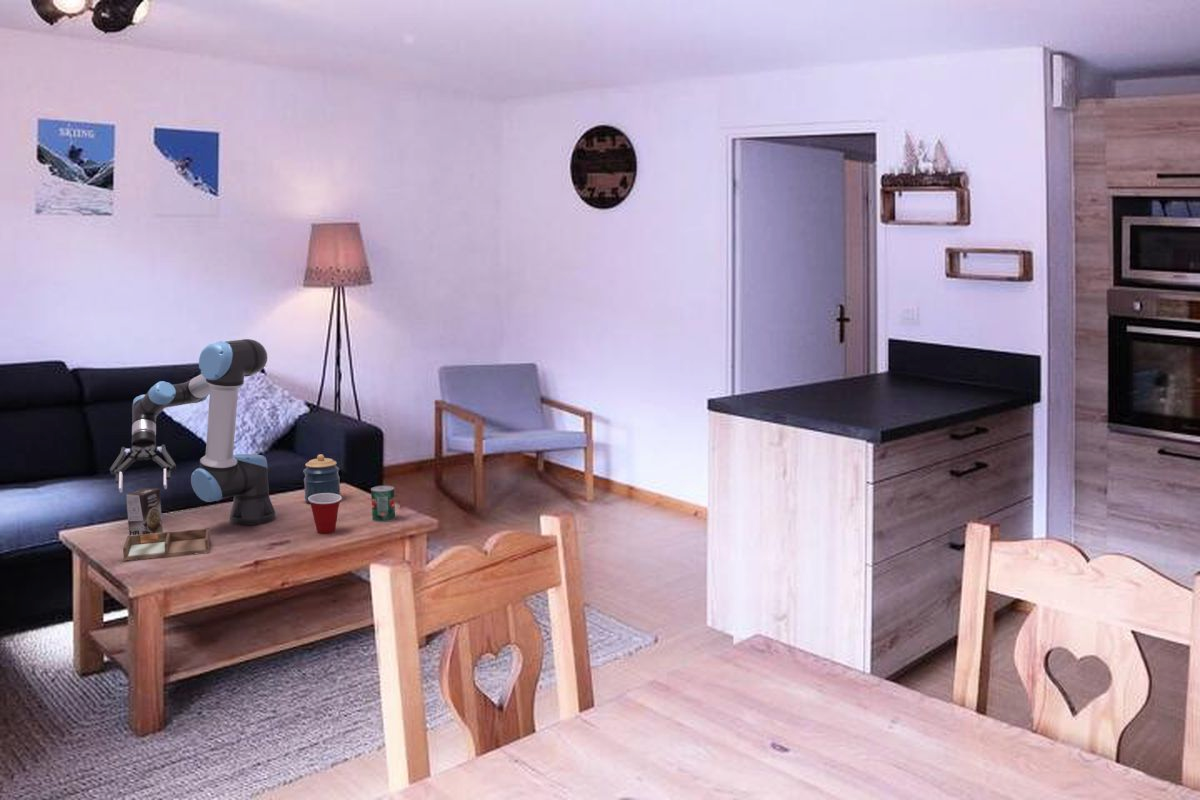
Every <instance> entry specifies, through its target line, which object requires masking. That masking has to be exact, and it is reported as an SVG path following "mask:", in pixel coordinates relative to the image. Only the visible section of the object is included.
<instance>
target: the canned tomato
mask: <svg viewBox="0 0 1200 800" xmlns="http://www.w3.org/2000/svg"><path fill="white" fill-rule="evenodd" d="M370 492H371V493H370V494H371V512H372V514H371V516H372V521H373V522H377V523H387V522H392V521H394V520H395V519H396V508H395V507H396V506H395V505H396V504H395V503H396V502H395V487H394V486H393V485H392V486H391V485H376V486H374V487H371V488H370Z"/></svg>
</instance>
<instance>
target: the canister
mask: <svg viewBox="0 0 1200 800" xmlns="http://www.w3.org/2000/svg"><path fill="white" fill-rule="evenodd" d="M337 463H338V462H337V461H336V460H335V459H333V458H328V457H325V456H324V454H320V453H319V454H318V455H317V456H316V458H313V459H310V460H309V461H307V462H305V467H306V468H304V469H303V470H302V471H303V474H304V478H303V482H304V499H305V503H307V504H309V505H310V502H309V500H308V497H310V496H311V495H314V494H320V493H333V494H338V495H340V496H341V487H340V486H341V485H340V478H341V477H340V475H339V471H340V468H339V467H338V466H337ZM341 497H342V496H341Z"/></svg>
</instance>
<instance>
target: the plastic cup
mask: <svg viewBox="0 0 1200 800" xmlns="http://www.w3.org/2000/svg"><path fill="white" fill-rule="evenodd" d="M340 495H341V494H340ZM340 495H338V494H333V493H320V494H314V495H311V496H310V497H308V500H309V502H310V504H309V505H310V508H311V510H312V515H313V521H314V523H315V527H316V531H317V534H320V535H321V534H322V535H324V534H325V535H328V534H332V533H334V532H336V527H337V520H338V514H339V513H338V512H339V507H340V502H341V501H342V498H343V497H342V496H340Z"/></svg>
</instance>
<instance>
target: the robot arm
mask: <svg viewBox="0 0 1200 800" xmlns="http://www.w3.org/2000/svg"><path fill="white" fill-rule="evenodd" d="M267 362H268V352H267V350H266V348H265V347H264V345H263V344H261V343H260V342H259V341H257V340H255V339H248V338H247V339H245V338H243V339H238V340H237V339H235V340H229V341H224V340H223V341H216V342H213V343H209V344H208V345H206V346H205V347H204V348H203V349H202V351H201V352H200V354H199V357H198V368H199V370H200V374H199V375H197V376H195V377H193V378H191V379H189V380H187V381H186V382H182V383H175V384H172V383H170V382H168V381H167V382H166V381H161V380H160V381H158V382H157V383H155V384H154V385H153V386H151V387H150V389H149V390H148V391H147V393H146V394H140V395H138V396H136V397H135V398H134V399H133V402H132V406H131V409H132V411H131V413H132V416H131V417H132V419H131V420H132V421H131V422H132V423H131V424H132V425H131V447H130V448H126V447H125V446H122V447H121V448H120V453H119V454H118V456H117V458H116V459H115V460H114V462H113V463H112V464H111V466H110V467H109V472H110V474H111V475H115V483H116V484H118V490H119V493H121V494H122V493H123V490H124V489H123V487H124V486H123V482H124V481H123V480H124V475H123V473H124V472H125V471H126V470H128V468H129V467H130V466H132V464H133V463H136V462H137V461H144V460H145V461H149V460H152V461H153V462H155V463H156V464H157V465H159V466H160V467H161V468H162V469H163V488H164V490H167V489H168V480H171V472H172V471H176V470H177V465H176V463H175V461H174V459H173V458H172V457H171V455H170V454H169V451H168V450H167V449H166V445H165V444H164V443H163V444H161V446H157V437H156V435H157V417H158V415H160V414H161V413H162V412H163V410H164V409H166V408H172V407H173V408H174V407H177V406H183V405H189V404H190V405H191V404H198V403H200V402H204V401H206V400H207V398H208V396H209V401H208V414H207V415H208V416H207V417H208V418H207V429H206V430H207V432H206V441H205V442H206V444H205V445H206V446H205V455H203V456H202V457H200V459H199V468H196V469H195V470H193V472H192V473H191V475H190V476H191V477H190V484H191V487H192V489H193V491H194V493H195V495H196V497H198V498H199V499H200V500H201V501H204V502H206V503H208V502H209V503H212V502H215V501H216V502H219V501H221V500H224V499H227V498H230V497H231V498H232V497H233V501H232V506H231V510H230V513H229V523H230V524H232V525H235V526H243V527H244V526H245V527H247V526H257V525H264V524H267V523H270V522H273V521H274V520H276V519H277V518H276V516H277V515H276V510H275V508H274V505H273V502H272V500H271V498H270V489H269V486H270V485H269V467H268V461H267V458H266V456H264V455H260V454H252V453H250V454H247V453H239V454H234V447H235V446H234V445H235V435H236V434H235V433H236V424H237V423H236V422H237V421H236V420H237V411H238V409H237V408H238V396H239V395H238V394H239V389H240V388H241V387H242V386H243V385H244V382H245V377H251V376H253V375H255V374H257V373H259V372H261V371H262V370H263V369H264V368H265V367H266V366H267ZM157 452H159V453H160V454H162V455H163V457H164V459H165V460H166V461H165V460H163V459H162V458H161V457H160V456H159V455H157ZM129 453H130V455H129ZM126 456H128V458H127V459H126V460H125V458H126ZM124 460H125V461H124Z"/></svg>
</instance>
